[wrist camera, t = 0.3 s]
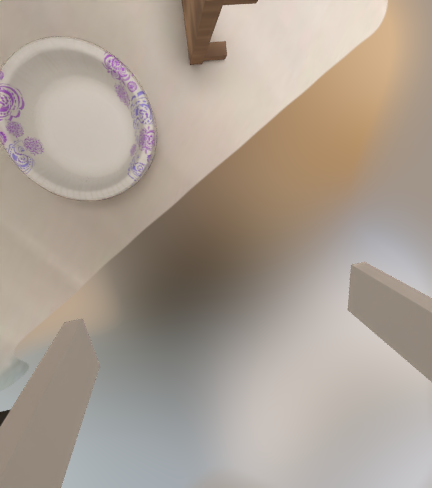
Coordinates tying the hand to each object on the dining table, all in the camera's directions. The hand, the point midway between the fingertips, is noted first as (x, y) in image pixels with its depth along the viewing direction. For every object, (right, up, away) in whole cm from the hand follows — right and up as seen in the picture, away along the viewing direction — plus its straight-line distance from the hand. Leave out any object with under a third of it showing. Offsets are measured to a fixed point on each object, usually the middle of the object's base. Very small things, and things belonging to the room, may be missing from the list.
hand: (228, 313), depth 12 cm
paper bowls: (-16, +18, +21) cm, 31 cm away
